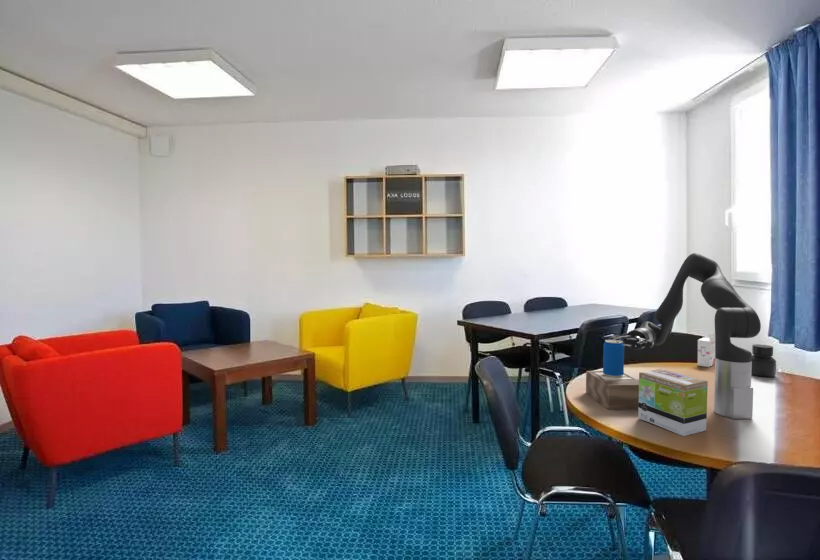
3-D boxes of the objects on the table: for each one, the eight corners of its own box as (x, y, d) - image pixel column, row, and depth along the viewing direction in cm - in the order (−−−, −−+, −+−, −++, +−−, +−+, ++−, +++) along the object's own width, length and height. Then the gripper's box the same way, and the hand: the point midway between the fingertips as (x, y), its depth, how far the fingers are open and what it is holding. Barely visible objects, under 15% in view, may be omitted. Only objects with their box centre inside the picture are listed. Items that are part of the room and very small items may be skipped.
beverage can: (627, 376, 156) (628, 342, 155) (613, 379, 153) (613, 343, 153) (613, 372, 162) (613, 338, 161) (598, 374, 160) (599, 340, 159)
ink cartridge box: (702, 362, 210) (703, 330, 209) (715, 364, 206) (716, 331, 206) (696, 365, 204) (697, 332, 204) (709, 367, 201) (710, 334, 200)
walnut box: (645, 408, 148) (645, 383, 148) (608, 409, 148) (609, 384, 147) (618, 392, 166) (619, 369, 166) (586, 392, 166) (586, 370, 165)
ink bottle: (781, 376, 185) (782, 347, 185) (769, 379, 181) (770, 349, 181) (754, 371, 194) (755, 342, 193) (742, 373, 190) (743, 344, 190)
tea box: (636, 419, 139) (637, 371, 138) (659, 414, 143) (660, 367, 142) (683, 437, 125) (685, 384, 124) (707, 431, 129) (709, 379, 129)
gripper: (620, 327, 181) (604, 332, 170) (659, 330, 172) (646, 336, 160) (620, 345, 182) (604, 352, 170) (659, 350, 172) (645, 357, 160)
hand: (624, 344), depth 165 cm, fingers open, 8 cm apart
